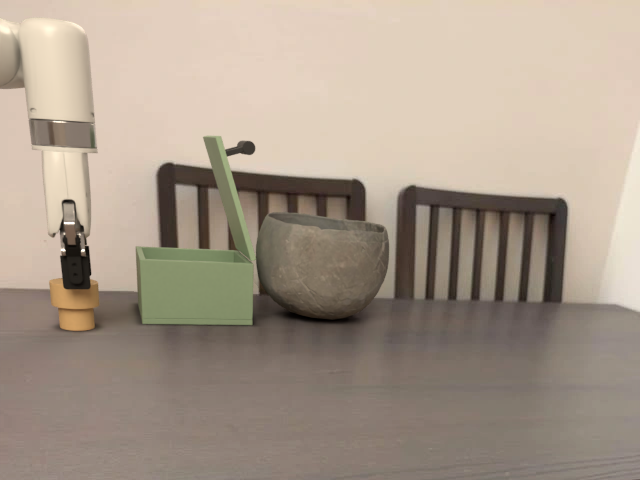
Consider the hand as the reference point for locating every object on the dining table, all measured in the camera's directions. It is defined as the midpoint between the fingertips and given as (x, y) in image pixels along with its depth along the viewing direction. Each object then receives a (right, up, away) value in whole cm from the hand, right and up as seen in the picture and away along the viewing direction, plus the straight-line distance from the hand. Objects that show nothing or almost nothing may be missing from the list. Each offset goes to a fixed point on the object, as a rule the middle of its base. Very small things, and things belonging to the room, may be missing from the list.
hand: (78, 282), depth 96 cm
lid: (+18, +15, +10) cm, 25 cm away
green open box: (+12, -1, +15) cm, 19 cm away
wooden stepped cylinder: (-1, -5, +2) cm, 6 cm away
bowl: (+30, 0, +21) cm, 37 cm away
